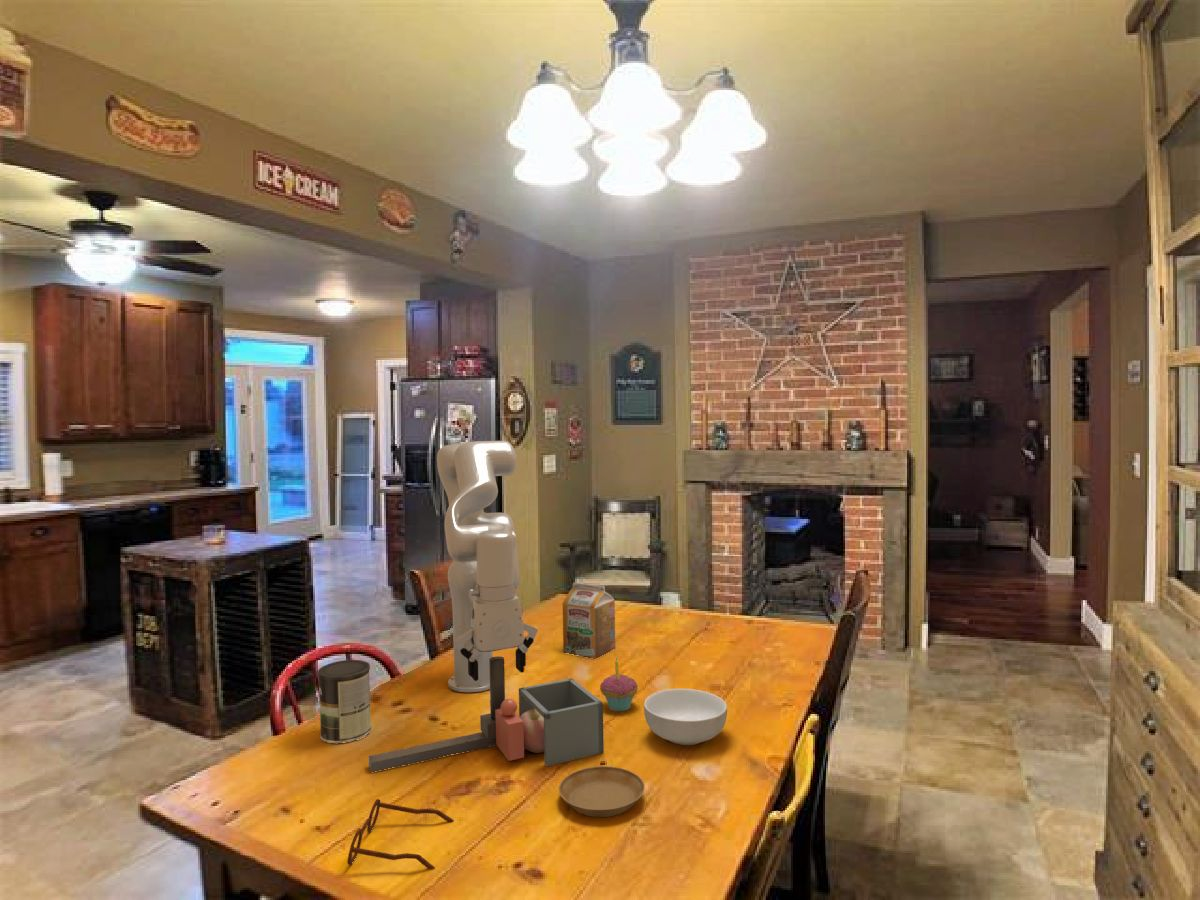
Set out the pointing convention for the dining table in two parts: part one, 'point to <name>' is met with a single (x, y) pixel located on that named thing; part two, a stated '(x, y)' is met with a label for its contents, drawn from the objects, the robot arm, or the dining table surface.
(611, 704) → the cupcake
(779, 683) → the dining table surface
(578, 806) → the plant saucer
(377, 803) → the glasses
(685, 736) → the cereal bowl
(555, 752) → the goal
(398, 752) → the rail
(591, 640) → the milk carton
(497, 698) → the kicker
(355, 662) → the coffee can
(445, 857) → the dining table surface
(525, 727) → the apple
